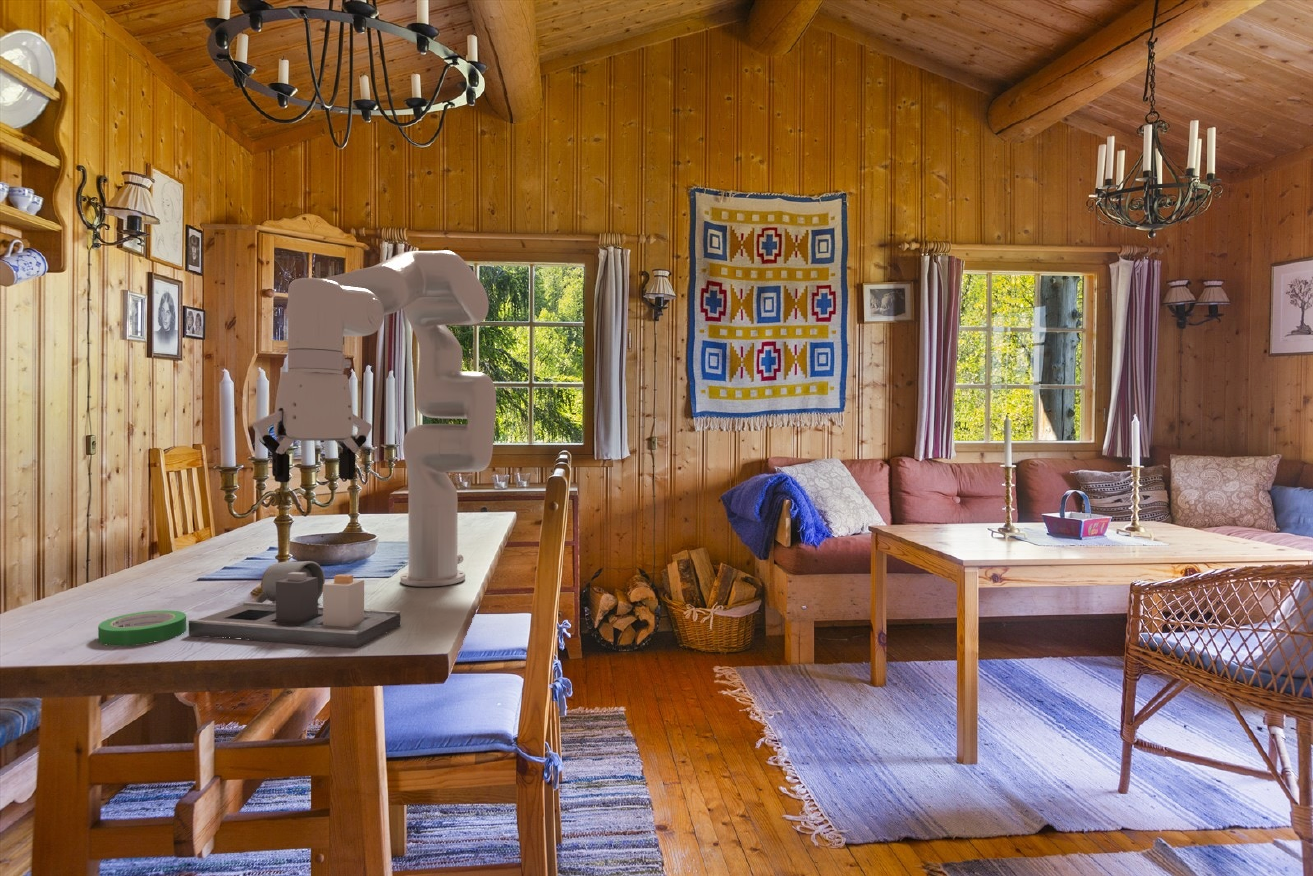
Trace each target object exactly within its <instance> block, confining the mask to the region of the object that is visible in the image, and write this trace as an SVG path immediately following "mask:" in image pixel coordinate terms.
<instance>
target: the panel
mask: <svg viewBox="0 0 1313 876" xmlns="http://www.w3.org/2000/svg"><path fill="white" fill-rule="evenodd" d="M271 603H272V602H269V603H268V602H266V603H265V602H263V603H255V601H254V602H253V601H251V602H250V601H245V602H243V603H242V604H240V605H238V606H235V607H232V608H229V609H228V608H227V609H225V610H222V611H219V612H216V613H214V614H210V615H207V616H204V617H201V618H198V619H189V620H188V636H189V637H199V636H209V637H208V638H213V637H221V638H220V639H227V638H229V637H230V638H241V639H249V640H248V641H254V640H255V642H268V641H269V643H283V644H294V645H295V644H297V645H308V646H309V645H311V646H325V647H336V648H337V647H338V648H350V649H351V648H352V649H357V648H360V647H362V646H363V645H366V644H368V643H370V642H371V641H374V640H375V638H376V639H377V637H378V638H379V636H380V637H381V636H384V635H385V633H386V632H388V633H390V632H391V631H394V630H395V628H396V629H397V627H398V628H399V627H401V611H395V610H382V609H380V610H379V609H368V608H367V609H366V608H364V621H362V622H360V623H357V624H355V625H353V626H351V627H343V626H328V625H323V606H319V605H318V617H317V618H315V619H312V620H310V621H307V622H305V623H302V624H299V623H284V622H276V604H271ZM393 629H394V630H393ZM383 634H384V635H383ZM386 634H387V633H386ZM222 637H224V638H222ZM225 637H226V638H225Z"/></svg>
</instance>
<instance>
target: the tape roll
mask: <svg viewBox="0 0 1313 876" xmlns="http://www.w3.org/2000/svg"><path fill="white" fill-rule="evenodd" d="M97 630H98V633H97V635H98V636H97V637H98V638H97V639H98V640H97V641H98V643H99V642H100V644H101V643H102V644H101V645H104V644H107V645H106V646H111V645H118V647H124V646H125V645H126V646H137V645H136V644H140V645H146V644H145V643H147V644H150V643H149V642H153V643H155V642H154V641H159V642H163V641H166V640H171V639H173V637H174V638H176V637H175V636H177V637H179V636H182V635H183V634H185V633H186V631H187V615H186V613H185V612H183V611H179V610H170V609H169V610H167V609H166V610H162V609H161V610H151V611H150V610H149V611H141V612H139V611H138V612H134V613H126V614H122V615H118V616H115V617H112V618H108V619H107V620H103V621H101V622H100V623H99V624H98V626H97ZM184 632H185V633H184ZM182 633H183V634H182ZM181 634H182V635H181ZM170 638H171V639H170ZM162 640H163V641H162ZM119 645H121V646H119Z"/></svg>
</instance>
